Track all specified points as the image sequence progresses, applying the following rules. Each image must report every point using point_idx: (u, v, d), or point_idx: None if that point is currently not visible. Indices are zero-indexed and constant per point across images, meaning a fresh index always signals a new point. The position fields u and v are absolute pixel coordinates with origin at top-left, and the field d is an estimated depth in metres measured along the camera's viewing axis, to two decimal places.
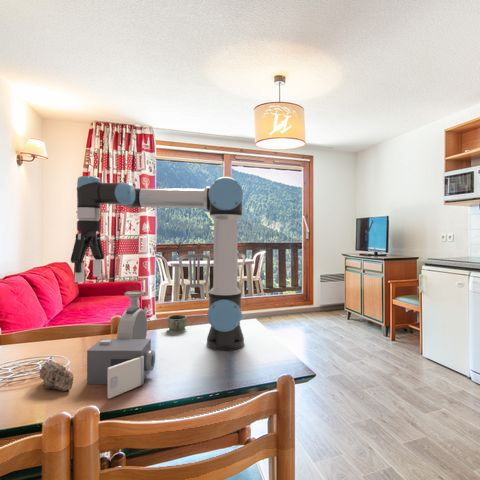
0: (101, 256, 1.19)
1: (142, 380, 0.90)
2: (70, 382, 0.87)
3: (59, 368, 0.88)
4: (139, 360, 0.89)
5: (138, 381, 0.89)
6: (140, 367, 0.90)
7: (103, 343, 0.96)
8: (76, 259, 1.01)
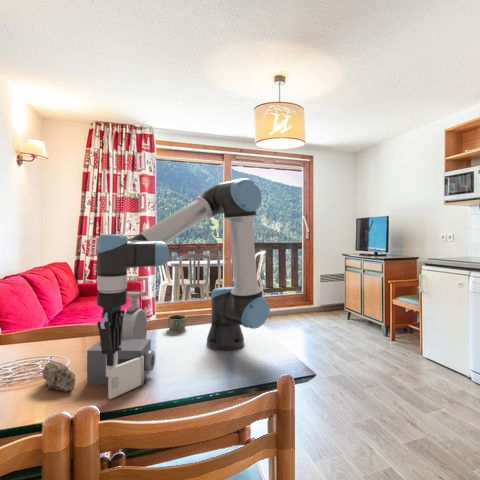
0: (118, 346, 0.87)
1: (142, 380, 0.90)
2: (72, 383, 0.86)
3: (61, 368, 0.88)
4: (139, 360, 0.89)
5: (138, 381, 0.89)
6: (140, 367, 0.90)
7: None
8: (109, 352, 0.81)
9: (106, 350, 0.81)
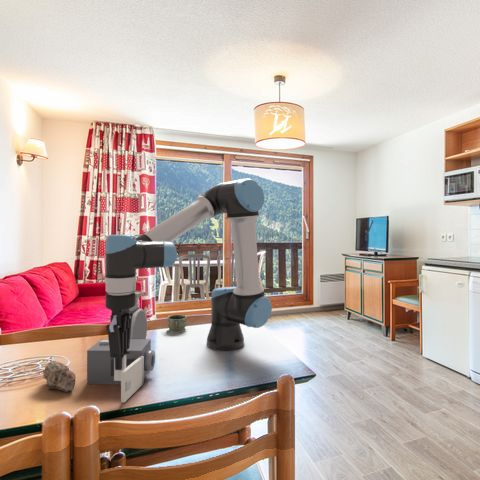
0: (126, 349, 0.84)
1: (143, 380, 0.90)
2: (72, 383, 0.86)
3: (62, 368, 0.88)
4: (141, 360, 0.89)
5: (140, 381, 0.89)
6: (142, 367, 0.90)
7: (103, 343, 0.96)
8: (117, 355, 0.79)
9: (115, 354, 0.79)
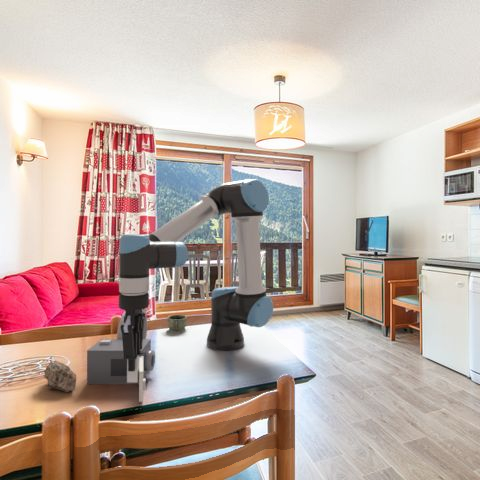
0: None
1: None
2: (73, 383, 0.86)
3: (63, 368, 0.88)
4: (143, 360, 0.90)
5: None
6: (143, 366, 0.90)
7: (103, 343, 0.96)
8: (131, 357, 0.78)
9: (128, 355, 0.78)
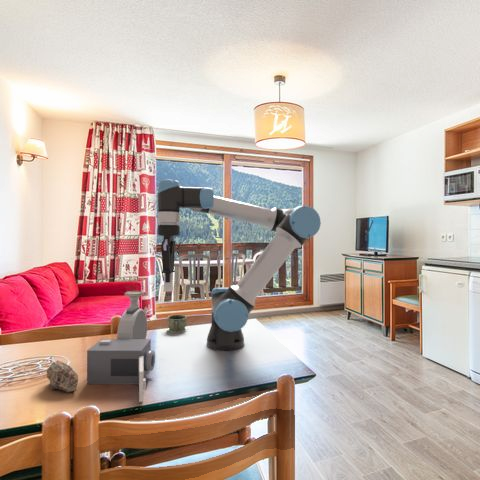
0: (172, 269, 1.11)
1: None
2: (74, 384, 0.86)
3: (64, 369, 0.88)
4: (143, 360, 0.90)
5: None
6: (143, 366, 0.90)
7: (103, 343, 0.96)
8: (168, 270, 1.05)
9: (166, 268, 1.05)
